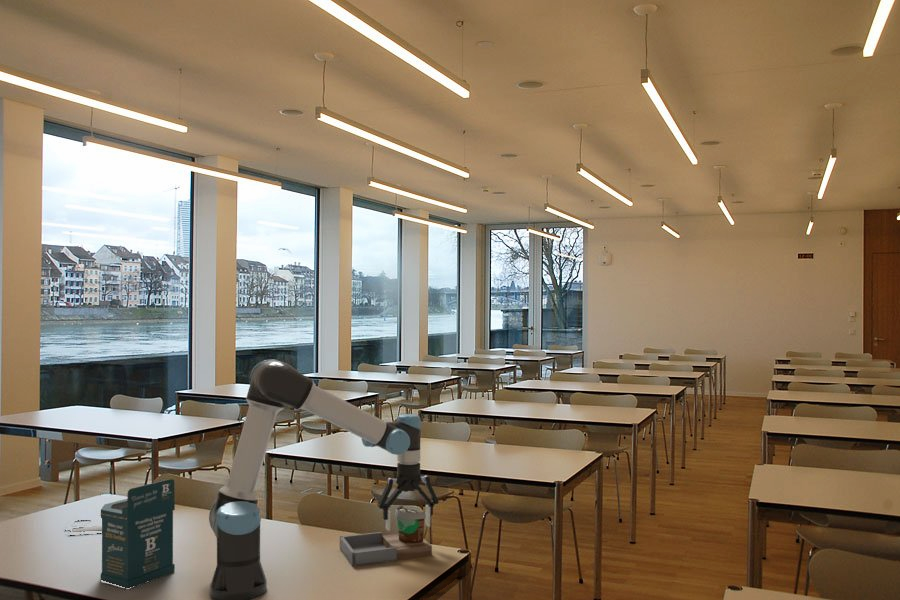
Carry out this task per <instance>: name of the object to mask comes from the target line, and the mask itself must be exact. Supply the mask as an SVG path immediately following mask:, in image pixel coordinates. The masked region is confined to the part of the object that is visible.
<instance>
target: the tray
mask: <svg viewBox="0 0 900 600" xmlns="http://www.w3.org/2000/svg"><path fill="white" fill-rule="evenodd" d="M382 536H383V533H382V531H378V532H368V533H359V534H351V535H343V536H339V550H340V552H341V553H342V554H343V556H344V557H345V558H346V560H347V561H348V562H349V564H350V565H351V567H359V566H367V565H374V564H381V563H382V564H383V563H389V562H390V563H391V562H396V561H398V560H397V552H396V547H391V548H386V547H385V546H384V545H383V544H382Z"/></svg>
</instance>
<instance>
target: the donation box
mask: <svg viewBox="0 0 900 600" xmlns="http://www.w3.org/2000/svg"><path fill="white" fill-rule="evenodd" d="M175 503H176V502H175V479H173V478H170V479H163V480H160V481H157V482H153V483H147V484H144V485H140V486H136V487H132V488H129V490H127V498H125V499H121V500H116V501H112V502H109V503H104V505H103V506H102V507H101V509H100V516H101V518H102V534H101V536H102V537H101V573H100V581H101V580H103V581H106V582H109V583H112V584H116V585H119V586H122V587H125V588H130V587H133V586H136V587H138V586H137V585H139V584H142V583H144V584H146V583H145V582H147V581H149V582H152V581H154V580H153V579H155V580H157V579H156V578H158V579H160V578H163V577H165V576H167V575H171V574H173V573H175V570H176V569H175V568H176V566H175V563H174V511H175V510H176V509H175V507H176V506H175V505H176V504H175ZM151 580H152V581H151ZM147 583H148V582H147ZM142 585H143V584H142ZM139 586H140V585H139Z"/></svg>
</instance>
